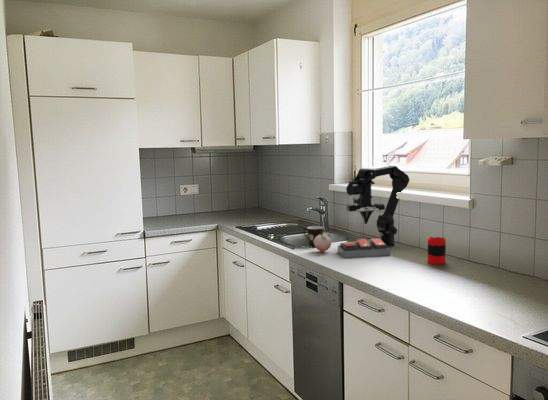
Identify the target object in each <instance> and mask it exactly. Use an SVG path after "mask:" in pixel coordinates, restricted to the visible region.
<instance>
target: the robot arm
mask: <svg viewBox="0 0 548 400" xmlns="http://www.w3.org/2000/svg"><path fill="white" fill-rule="evenodd" d="M357 172H358V173H357V174H356V176H355V178H354V180H353V181H348V184H347V186H346V188H345V190H346V193H347V195H349V196H355V195H358V197H357V196H355V197H353V198H352V199H353V200H352V202H353V204H352V203H351V204H350V203H349V204H346V207H345V208H346V211H348V212H359V214H360V215H361V218H362V221H363V223H364V224H365V225H367V224H368V221H369V219H370V217H371V215H372V214H373V213H374V212H375V210H376V209H377V210H379V211H383V210H384V212H383V214H379V215H378V216H377V220H376V224H375V225H376V226H375V227H377V230H378V233H380V236H379V238H380V239H381V240H382V241H383V242H384V243H385V244H386V245H387V247H389V246H396V243H395V235H397V233H398V229H397V228H396V226H394V224H395V220H394V219H395V218H394V215H395V212H396V209H397V206H398V205H399V201H400V198H399V199H397V198H396V196H397V195H396V193H397V192H401V191H402V192H403V191H404V190H405V189H406V188H407V186H408V184H409V183H410V177H409V175H408V174H406V173H405V172H404V171H403V170H401V169H400V168H399V167H398V166H396V165H388V166H383V167H377V168H372V169H371V168H360V169H359V170H358V171H357ZM386 175H389V177H390V180H391V187H392V189H391V192H390V195H389V197H388V201H387V204H386V206H385V204H384V203H382V202H377V203H376V202H375V203H374V204H372V198H373V196H372V185H375V184H376V183H375V182H374V181H373V180H375V179H376V178H377V177H382V176H386ZM402 192H401V193H402Z"/></svg>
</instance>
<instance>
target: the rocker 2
mask: <svg viewBox="0 0 548 400" xmlns="http://www.w3.org/2000/svg"><path fill="white" fill-rule="evenodd" d="M370 241H371V242H372V243H373V244H375V245H376V246H377V245H385V244H384V242H383V241H382V240H381V239H380V237H379V238H371V239H370Z"/></svg>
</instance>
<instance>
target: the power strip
mask: <svg viewBox="0 0 548 400" xmlns="http://www.w3.org/2000/svg"><path fill="white" fill-rule="evenodd" d="M342 243H343V242H341V243H339V244H338V245H337V253H338V254H339V255H340V256H341V257H342V258H344V259H355V258H368V257H369V258H370V257H371V258H372V257H385V256H387V257H388V256H391V247H389V246H387V245H386V244H385V243H384V244H385V245H377V246H376V245H375V244H373V243H372V242H371V240H370V241H368V243H369V245H370V246H360V245H359V244H358V243H357V241H356V242H354V243H355V246H344V245H343V244H342Z"/></svg>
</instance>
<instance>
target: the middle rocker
mask: <svg viewBox="0 0 548 400" xmlns="http://www.w3.org/2000/svg"><path fill="white" fill-rule="evenodd" d="M367 240H368V239H366V238H357V239H356V242H357V243H358V244H359V245H360V246H370V245H369V241H367Z"/></svg>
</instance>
